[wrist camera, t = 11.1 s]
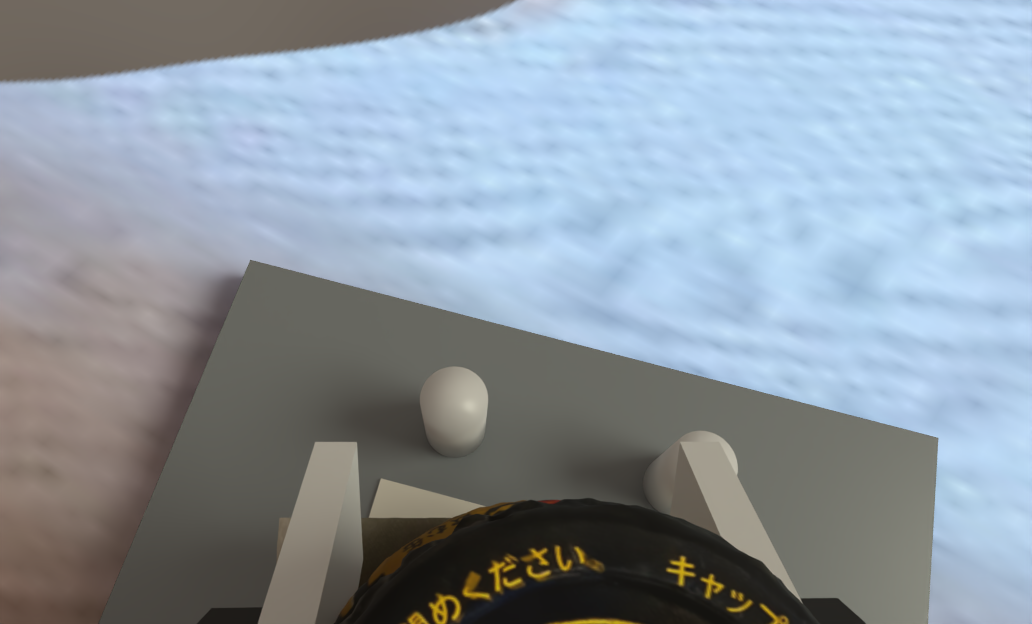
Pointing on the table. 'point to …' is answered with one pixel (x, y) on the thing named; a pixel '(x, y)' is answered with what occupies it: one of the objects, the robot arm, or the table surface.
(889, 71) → the table surface
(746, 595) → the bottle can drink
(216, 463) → the pin tray
